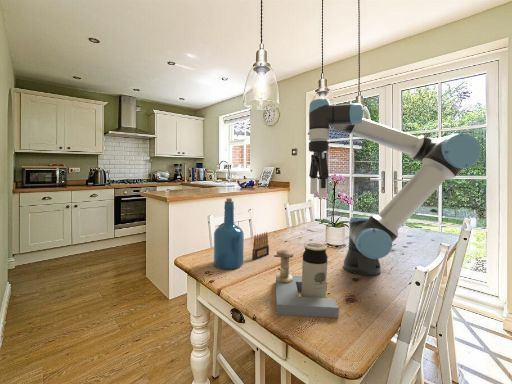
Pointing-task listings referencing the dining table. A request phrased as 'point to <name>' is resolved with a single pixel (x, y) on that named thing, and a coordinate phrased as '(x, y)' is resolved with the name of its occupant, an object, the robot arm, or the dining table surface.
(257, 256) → the ammunition clip
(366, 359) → the dining table surface
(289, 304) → the notched board
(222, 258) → the wine bottle
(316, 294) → the travel mug
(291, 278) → the birch bobbin
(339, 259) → the dining table surface
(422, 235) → the dining table surface
